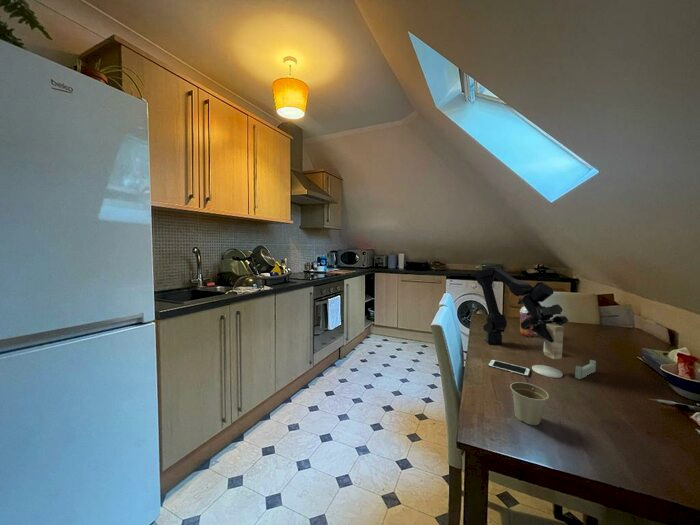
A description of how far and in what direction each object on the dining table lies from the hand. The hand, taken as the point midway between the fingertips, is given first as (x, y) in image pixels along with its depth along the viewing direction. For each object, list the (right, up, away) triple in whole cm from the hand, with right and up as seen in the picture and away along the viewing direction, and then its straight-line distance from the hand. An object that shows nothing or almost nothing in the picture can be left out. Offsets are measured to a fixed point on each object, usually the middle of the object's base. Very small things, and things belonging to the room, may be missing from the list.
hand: (557, 341), depth 105 cm
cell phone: (-16, -13, +5) cm, 21 cm away
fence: (+11, -13, 0) cm, 17 cm away
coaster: (-3, -13, +2) cm, 13 cm away
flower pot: (-30, -15, -27) cm, 43 cm away
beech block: (0, -6, +2) cm, 7 cm away
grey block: (+13, -12, +21) cm, 27 cm away
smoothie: (+19, -10, +46) cm, 51 cm away
